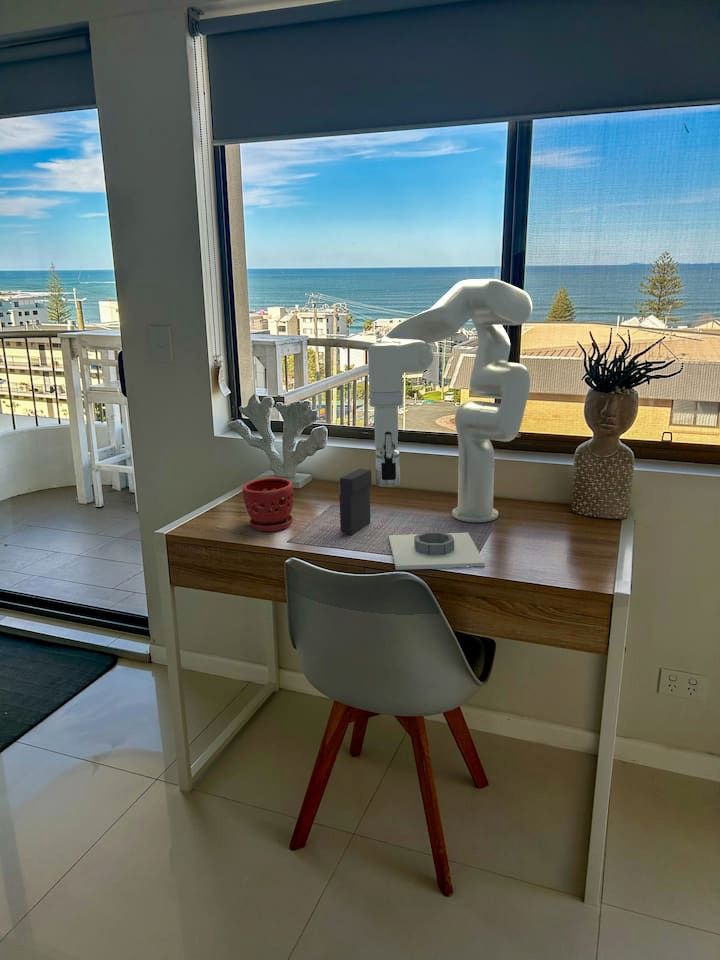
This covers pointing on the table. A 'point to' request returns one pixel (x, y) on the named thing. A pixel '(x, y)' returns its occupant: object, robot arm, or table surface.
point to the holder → (434, 551)
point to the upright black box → (355, 501)
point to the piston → (379, 470)
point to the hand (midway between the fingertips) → (388, 475)
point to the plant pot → (269, 503)
